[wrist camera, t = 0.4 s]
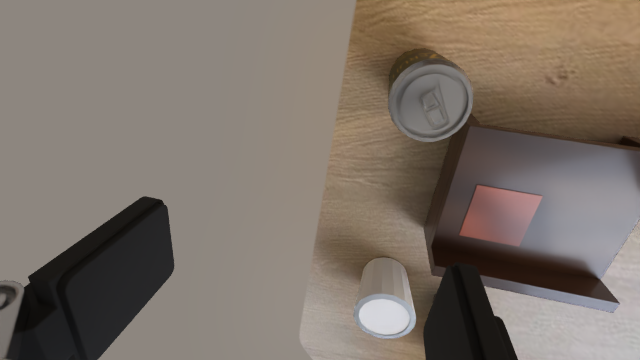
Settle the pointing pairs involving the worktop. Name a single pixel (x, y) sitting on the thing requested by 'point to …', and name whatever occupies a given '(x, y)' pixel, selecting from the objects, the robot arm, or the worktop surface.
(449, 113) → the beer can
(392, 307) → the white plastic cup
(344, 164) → the worktop surface
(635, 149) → the shelf
